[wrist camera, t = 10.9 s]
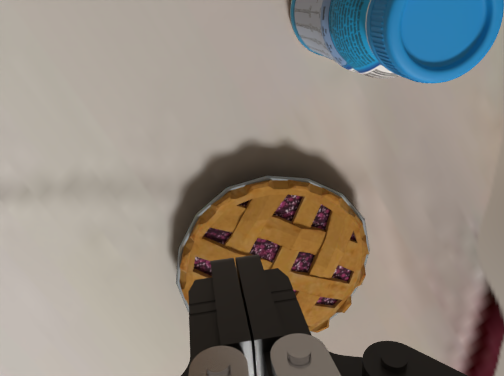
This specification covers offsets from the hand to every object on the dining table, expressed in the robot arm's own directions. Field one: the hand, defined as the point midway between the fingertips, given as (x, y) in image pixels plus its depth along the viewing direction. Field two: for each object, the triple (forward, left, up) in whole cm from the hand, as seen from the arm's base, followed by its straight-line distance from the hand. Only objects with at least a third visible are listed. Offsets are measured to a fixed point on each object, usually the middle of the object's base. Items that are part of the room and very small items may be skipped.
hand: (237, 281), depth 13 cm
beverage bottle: (+13, +6, -32) cm, 35 cm away
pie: (+6, -20, -32) cm, 38 cm away
